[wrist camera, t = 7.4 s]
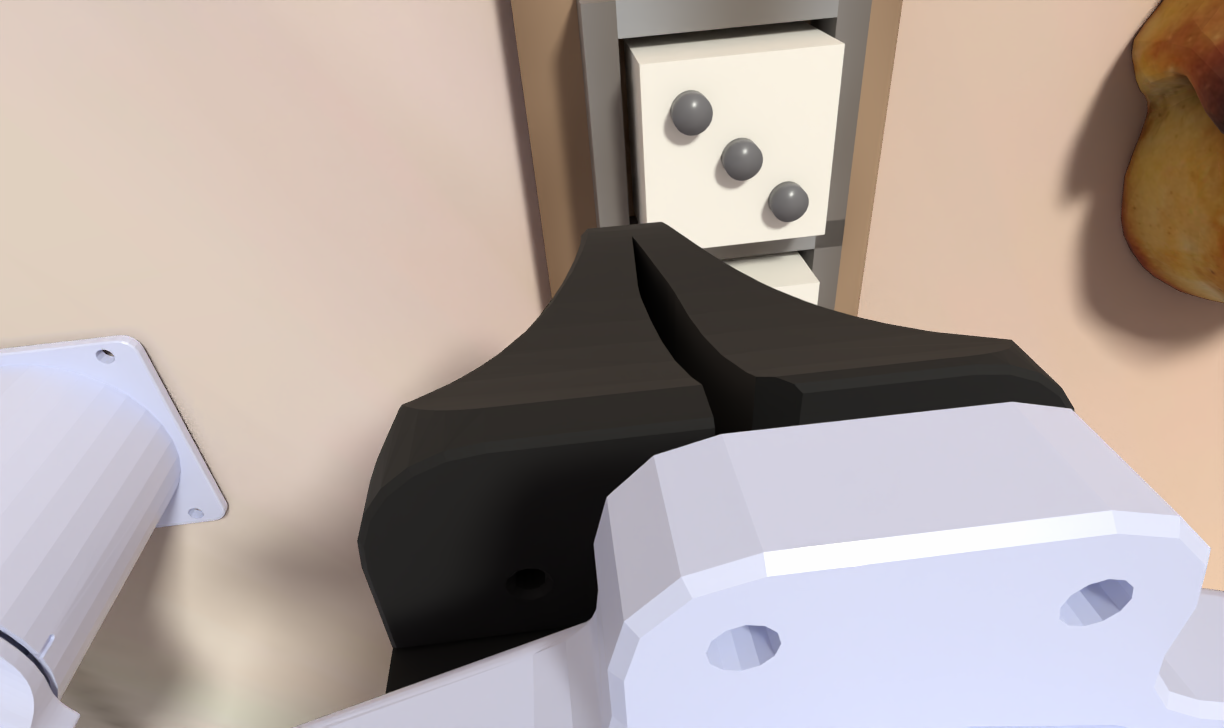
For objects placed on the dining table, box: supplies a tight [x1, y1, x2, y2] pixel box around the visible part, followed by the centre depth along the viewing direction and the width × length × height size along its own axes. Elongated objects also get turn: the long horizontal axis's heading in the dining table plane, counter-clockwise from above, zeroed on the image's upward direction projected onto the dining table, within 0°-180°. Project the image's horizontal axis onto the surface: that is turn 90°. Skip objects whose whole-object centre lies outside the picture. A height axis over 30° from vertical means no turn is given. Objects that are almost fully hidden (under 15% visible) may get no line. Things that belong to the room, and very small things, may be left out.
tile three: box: [624, 21, 845, 248], centre depth 18 cm, size 5×5×3 cm
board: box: [511, 0, 903, 317], centre depth 23 cm, size 10×21×3 cm, turn 4°
